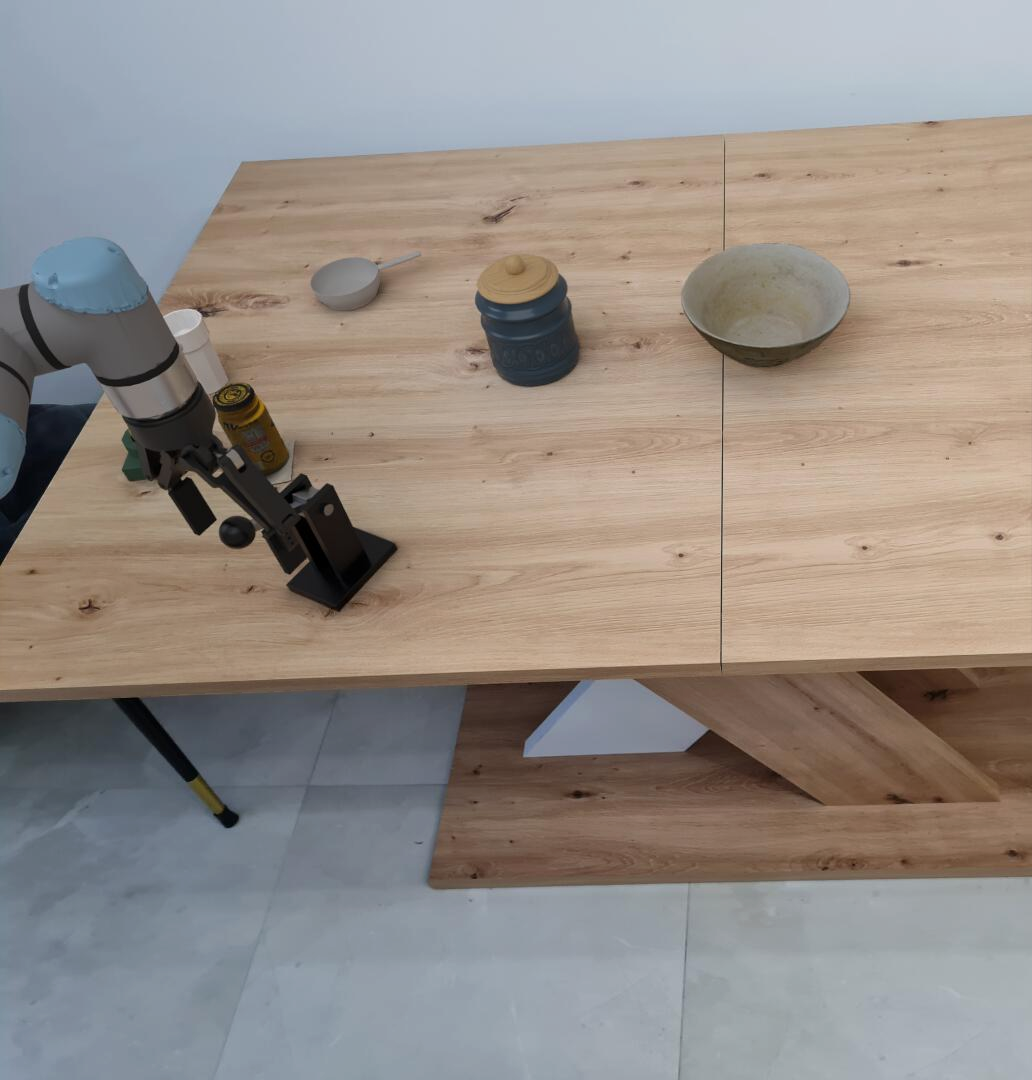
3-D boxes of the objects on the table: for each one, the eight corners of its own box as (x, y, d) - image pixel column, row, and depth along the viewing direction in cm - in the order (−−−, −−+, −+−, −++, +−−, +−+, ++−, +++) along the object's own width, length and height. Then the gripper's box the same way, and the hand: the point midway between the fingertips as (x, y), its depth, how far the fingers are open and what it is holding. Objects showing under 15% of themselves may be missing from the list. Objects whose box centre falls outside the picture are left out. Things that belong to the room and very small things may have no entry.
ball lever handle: (236, 558, 111) (234, 528, 109) (212, 548, 112) (209, 518, 111) (331, 517, 122) (329, 488, 120) (308, 507, 123) (306, 480, 121)
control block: (174, 475, 143) (161, 454, 140) (127, 481, 143) (112, 460, 140) (192, 427, 150) (179, 406, 147) (146, 432, 150) (132, 411, 147)
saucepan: (312, 287, 172) (304, 267, 169) (419, 256, 176) (413, 236, 173) (323, 322, 165) (315, 301, 162) (435, 288, 169) (428, 268, 166)
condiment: (294, 440, 146) (260, 372, 138) (291, 481, 141) (255, 414, 132) (241, 450, 146) (204, 383, 137) (236, 492, 140) (196, 425, 131)
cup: (179, 388, 156) (144, 328, 148) (215, 364, 159) (182, 304, 151) (206, 403, 153) (172, 342, 145) (242, 378, 157) (211, 317, 149)
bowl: (881, 359, 149) (885, 301, 142) (737, 421, 143) (732, 363, 135) (794, 280, 164) (793, 223, 156) (659, 333, 157) (651, 276, 150)
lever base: (339, 612, 125) (296, 534, 115) (289, 590, 128) (243, 513, 117) (397, 549, 131) (362, 470, 121) (349, 529, 134) (310, 451, 124)
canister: (570, 324, 160) (548, 221, 147) (590, 374, 152) (569, 270, 138) (487, 345, 158) (457, 243, 145) (502, 397, 149) (472, 293, 136)
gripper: (285, 406, 96) (359, 557, 112) (102, 342, 105) (195, 490, 121) (225, 458, 92) (311, 607, 108) (40, 386, 101) (145, 534, 117)
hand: (250, 545), depth 115 cm, fingers open, 13 cm apart
